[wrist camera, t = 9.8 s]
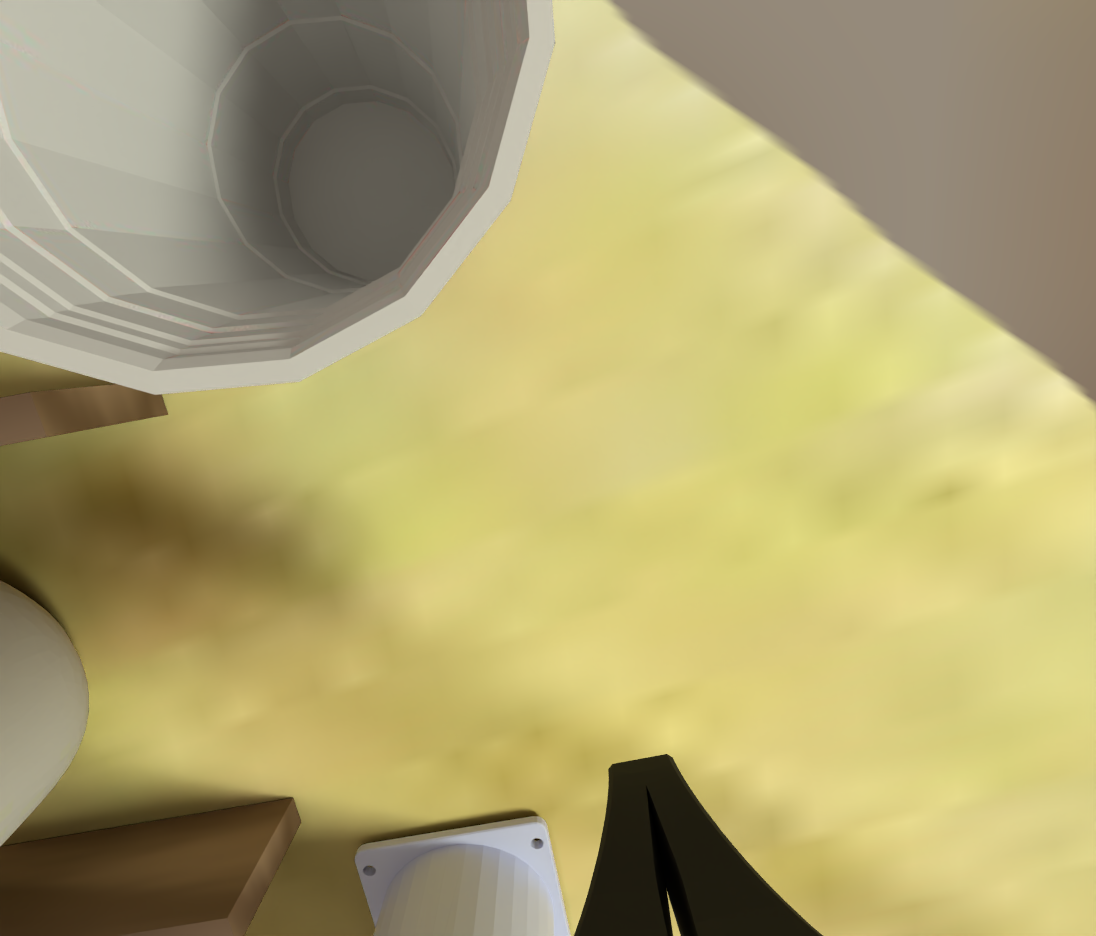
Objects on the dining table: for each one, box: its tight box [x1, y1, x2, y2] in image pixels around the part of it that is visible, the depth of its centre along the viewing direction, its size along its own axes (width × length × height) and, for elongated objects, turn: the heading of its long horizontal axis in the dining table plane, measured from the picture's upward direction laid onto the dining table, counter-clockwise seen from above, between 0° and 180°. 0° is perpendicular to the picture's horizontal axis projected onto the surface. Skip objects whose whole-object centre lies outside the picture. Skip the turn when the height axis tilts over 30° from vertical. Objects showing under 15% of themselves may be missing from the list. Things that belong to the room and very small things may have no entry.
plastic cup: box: [0, 0, 555, 395], centre depth 13 cm, size 11×11×12 cm
